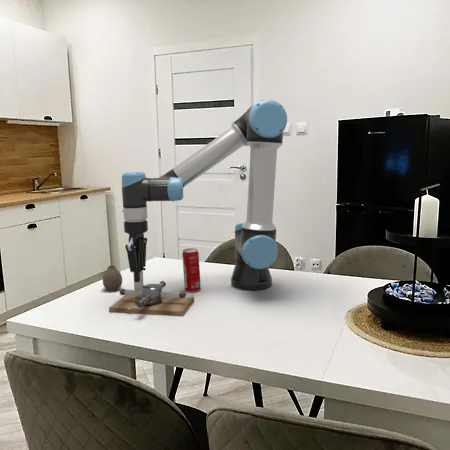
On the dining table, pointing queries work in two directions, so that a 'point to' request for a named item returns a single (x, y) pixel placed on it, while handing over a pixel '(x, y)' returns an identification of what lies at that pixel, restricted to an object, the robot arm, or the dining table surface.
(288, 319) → the dining table surface
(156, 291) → the cam capstan
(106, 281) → the vase
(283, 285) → the dining table surface
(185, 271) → the beverage can
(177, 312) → the brown wooden board
